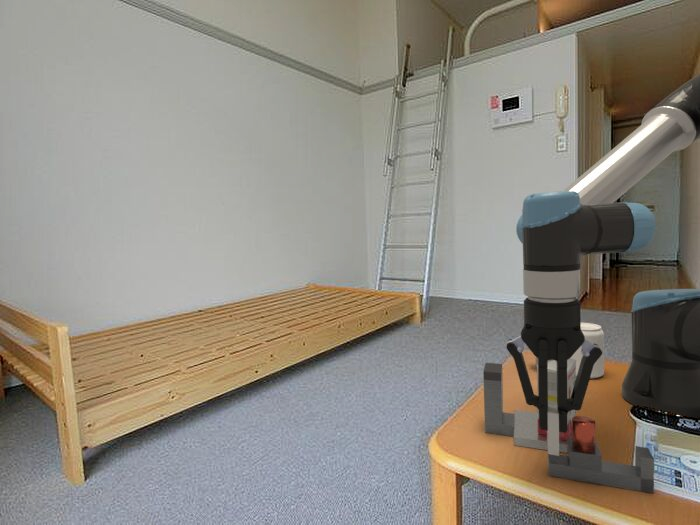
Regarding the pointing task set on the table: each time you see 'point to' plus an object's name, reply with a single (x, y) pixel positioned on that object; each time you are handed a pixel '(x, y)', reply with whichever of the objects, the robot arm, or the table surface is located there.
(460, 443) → the table surface
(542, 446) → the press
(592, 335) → the beverage can
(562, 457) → the rail
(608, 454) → the table surface
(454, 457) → the table surface
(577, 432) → the red cylinder
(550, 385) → the ink box
